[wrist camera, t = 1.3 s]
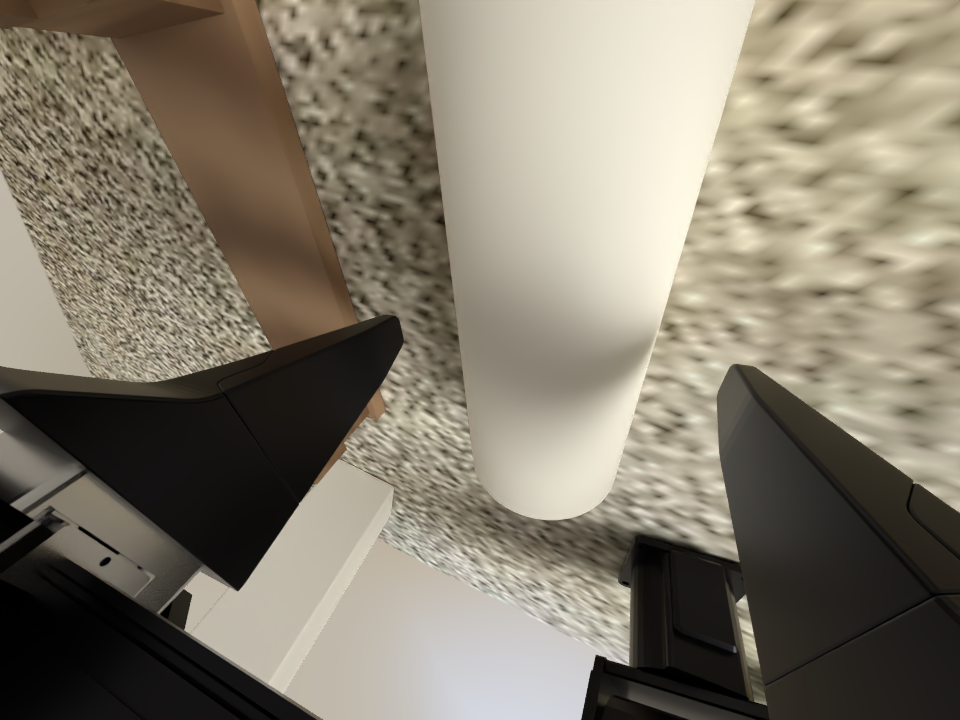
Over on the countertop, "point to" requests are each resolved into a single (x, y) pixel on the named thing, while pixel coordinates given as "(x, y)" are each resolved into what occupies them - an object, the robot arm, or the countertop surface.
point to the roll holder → (227, 149)
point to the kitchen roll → (568, 216)
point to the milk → (300, 577)
